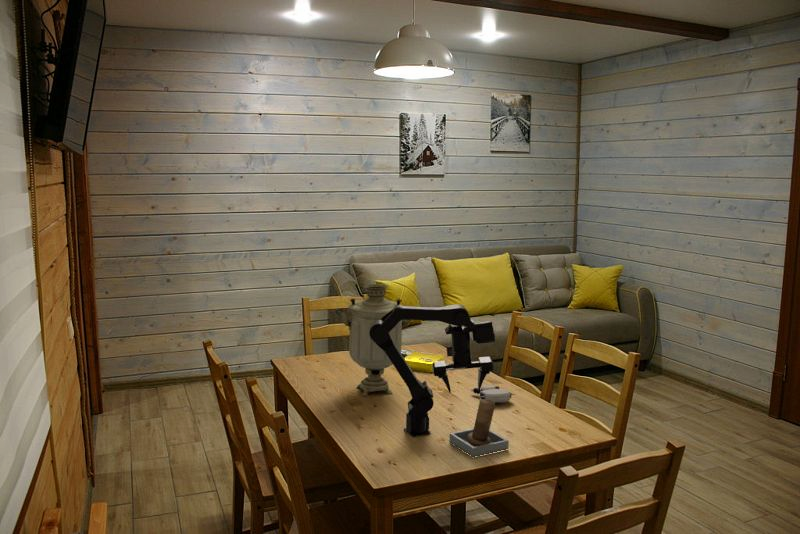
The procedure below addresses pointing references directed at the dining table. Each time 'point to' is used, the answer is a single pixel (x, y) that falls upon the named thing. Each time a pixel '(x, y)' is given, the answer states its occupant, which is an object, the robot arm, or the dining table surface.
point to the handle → (482, 424)
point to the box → (496, 445)
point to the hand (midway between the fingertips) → (464, 391)
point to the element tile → (422, 361)
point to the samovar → (359, 338)
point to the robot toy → (493, 393)
